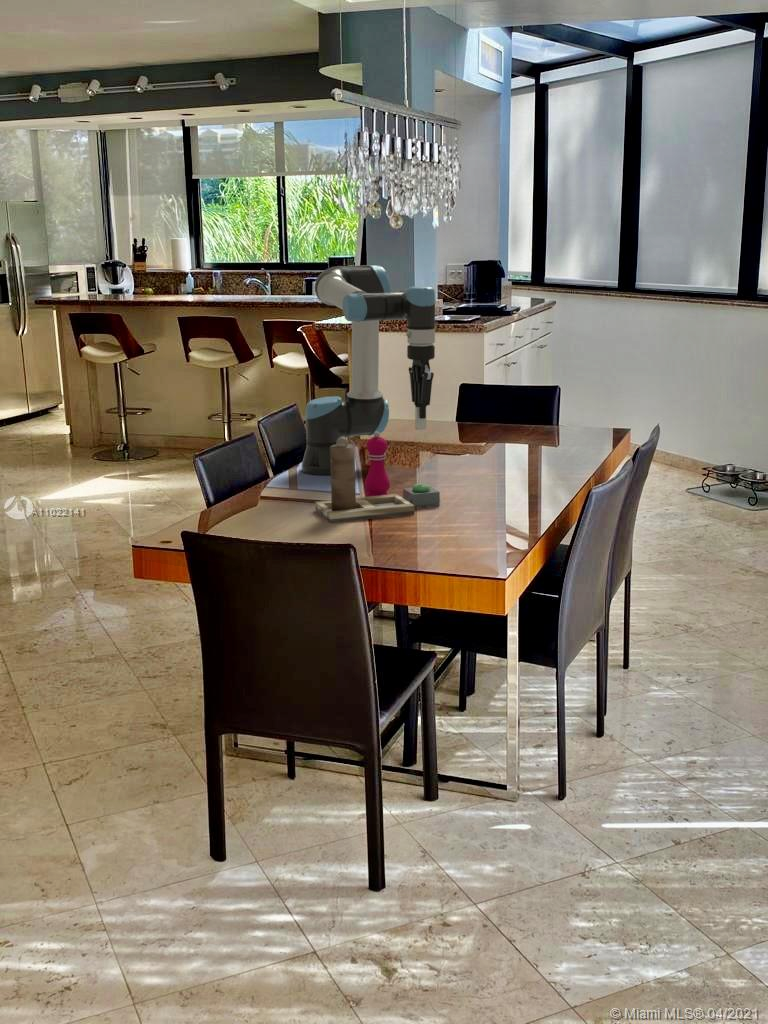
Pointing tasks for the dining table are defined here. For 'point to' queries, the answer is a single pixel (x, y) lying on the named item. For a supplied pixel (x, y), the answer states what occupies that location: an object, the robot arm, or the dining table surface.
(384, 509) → the divided tray
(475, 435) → the dining table surface
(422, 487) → the button
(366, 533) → the dining table surface
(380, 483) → the pepper mill
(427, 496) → the button box
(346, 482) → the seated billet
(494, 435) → the dining table surface
